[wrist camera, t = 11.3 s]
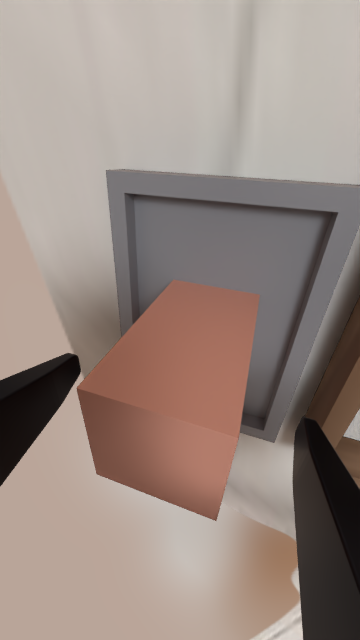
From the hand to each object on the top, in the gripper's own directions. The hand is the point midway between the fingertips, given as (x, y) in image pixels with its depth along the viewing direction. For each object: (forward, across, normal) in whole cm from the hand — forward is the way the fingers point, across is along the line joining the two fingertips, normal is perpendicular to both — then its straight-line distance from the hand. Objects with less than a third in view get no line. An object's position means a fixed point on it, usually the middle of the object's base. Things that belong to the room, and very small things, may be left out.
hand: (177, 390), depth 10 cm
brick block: (+5, 0, 0) cm, 5 cm away
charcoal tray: (+6, 0, 0) cm, 6 cm away
